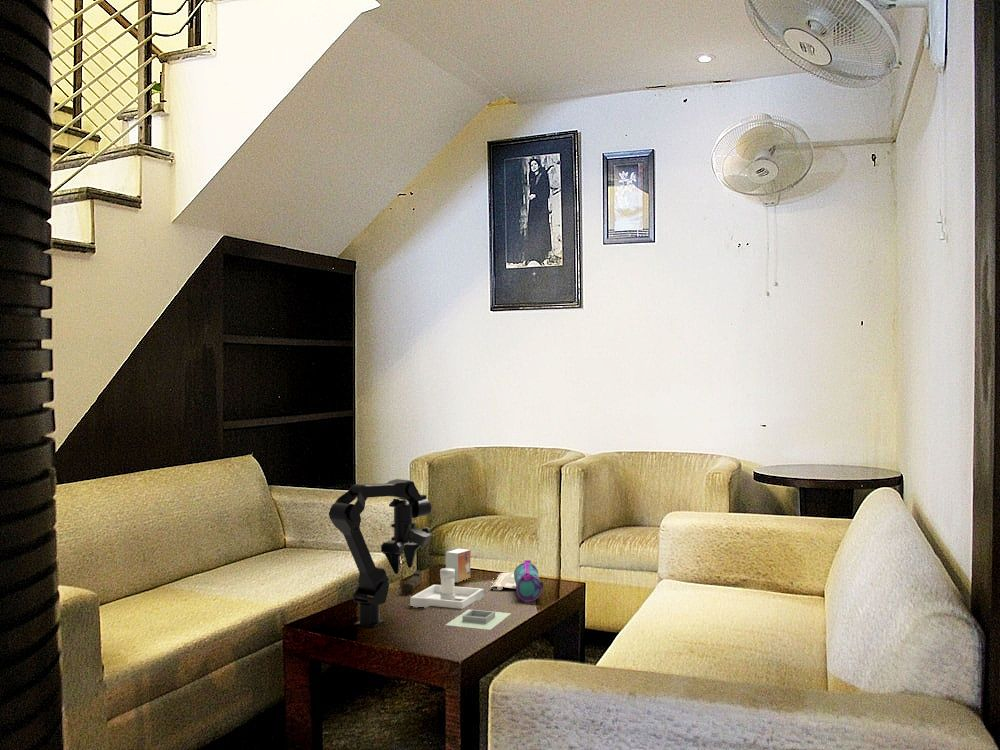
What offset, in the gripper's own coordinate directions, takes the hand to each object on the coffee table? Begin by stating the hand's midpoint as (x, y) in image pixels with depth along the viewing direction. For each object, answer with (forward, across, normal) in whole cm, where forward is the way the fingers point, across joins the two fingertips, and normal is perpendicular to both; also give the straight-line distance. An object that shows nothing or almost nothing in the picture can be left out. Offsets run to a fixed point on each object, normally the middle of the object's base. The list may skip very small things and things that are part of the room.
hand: (403, 570), depth 262 cm
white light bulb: (+12, +16, -8) cm, 22 cm away
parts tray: (+13, +16, -8) cm, 22 cm away
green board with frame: (+13, -2, -26) cm, 29 cm away
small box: (+13, +46, +1) cm, 48 cm away
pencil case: (+13, +34, -29) cm, 47 cm away
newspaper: (+14, +46, -18) cm, 52 cm away
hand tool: (+13, +30, +12) cm, 35 cm away
